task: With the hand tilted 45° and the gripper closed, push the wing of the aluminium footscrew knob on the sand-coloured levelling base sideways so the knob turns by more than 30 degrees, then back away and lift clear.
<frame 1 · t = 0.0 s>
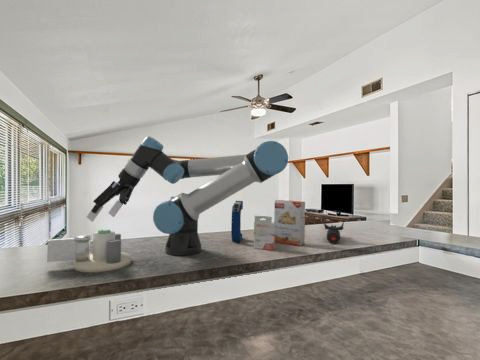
hand: (101, 217, 106), 15 cm above the countertop, tool tilted 35°, fingers open, 13 cm apart
levelling base: (103, 263, 96), on the countertop
wing knob: (70, 249, 92), point 6 cm above the countertop, hinge at 0.0°
handheld scanner: (236, 240, 139), on the countertop
cracker box: (288, 243, 134), on the countertop
ink cartridge box: (264, 248, 123), on the countertop
horned monster figurine: (333, 240, 144), on the countertop
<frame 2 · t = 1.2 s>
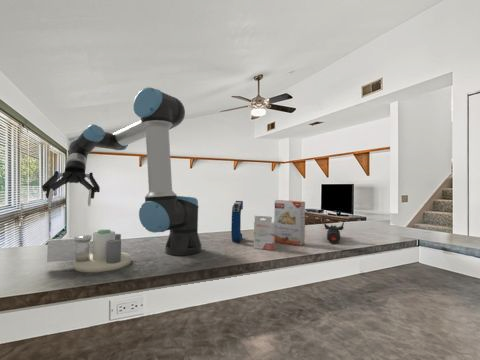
hand: (69, 203, 105), 20 cm above the countertop, tool tilted 45°, fingers open, 12 cm apart
nothing on the countertop moved.
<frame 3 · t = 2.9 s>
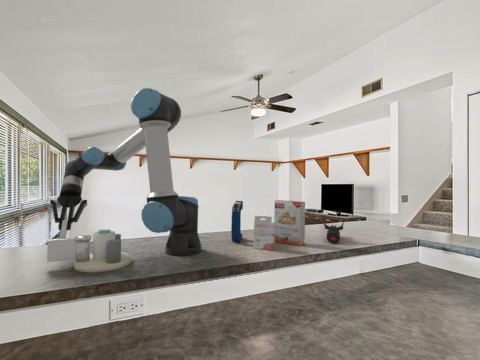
hand: (62, 236, 99), 9 cm above the countertop, tool tilted 45°, fingers closed
nothing on the countertop moved.
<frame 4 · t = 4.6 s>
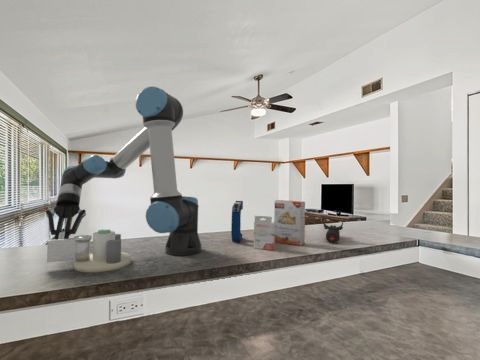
hand: (59, 250, 92), 5 cm above the countertop, tool tilted 45°, fingers closed
wing knob: (70, 249, 92), point 6 cm above the countertop, hinge at 2.2°, touching gripper
everything else where it was.
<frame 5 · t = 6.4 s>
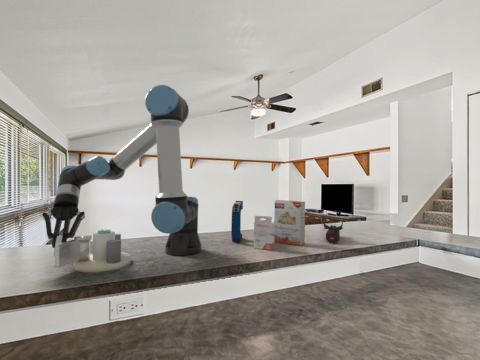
hand: (57, 255, 86), 5 cm above the countertop, tool tilted 45°, fingers closed
wing knob: (73, 250, 90), point 6 cm above the countertop, hinge at 52.3°, touching gripper
everything else where it was.
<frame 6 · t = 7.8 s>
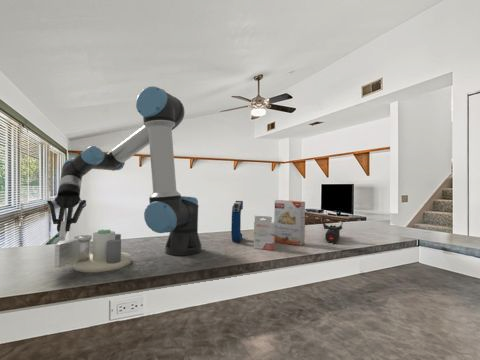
hand: (61, 238, 95), 9 cm above the countertop, tool tilted 45°, fingers closed
wing knob: (74, 250, 90), point 6 cm above the countertop, hinge at 52.4°
everything else where it was.
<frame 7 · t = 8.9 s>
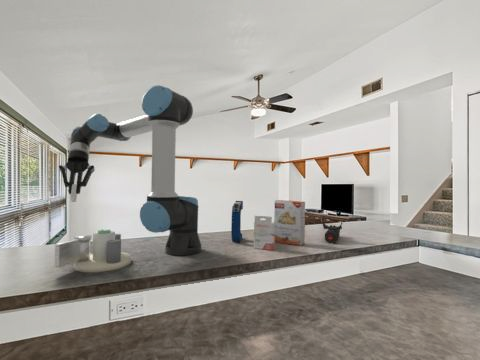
hand: (73, 199, 104), 22 cm above the countertop, tool tilted 40°, fingers closed
nothing on the countertop moved.
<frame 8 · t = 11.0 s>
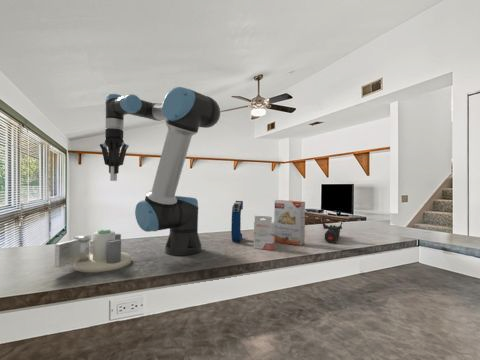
hand: (113, 180, 125), 29 cm above the countertop, tool pointing down, fingers closed
nothing on the countertop moved.
at the end: wing knob at +52° (first picture: +0°) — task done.
